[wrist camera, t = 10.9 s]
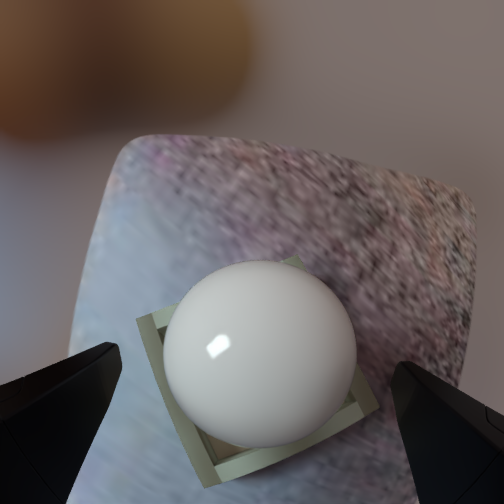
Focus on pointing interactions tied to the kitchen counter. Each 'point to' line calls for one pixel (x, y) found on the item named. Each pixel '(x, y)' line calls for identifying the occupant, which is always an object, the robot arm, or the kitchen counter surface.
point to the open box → (227, 455)
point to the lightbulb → (260, 354)
